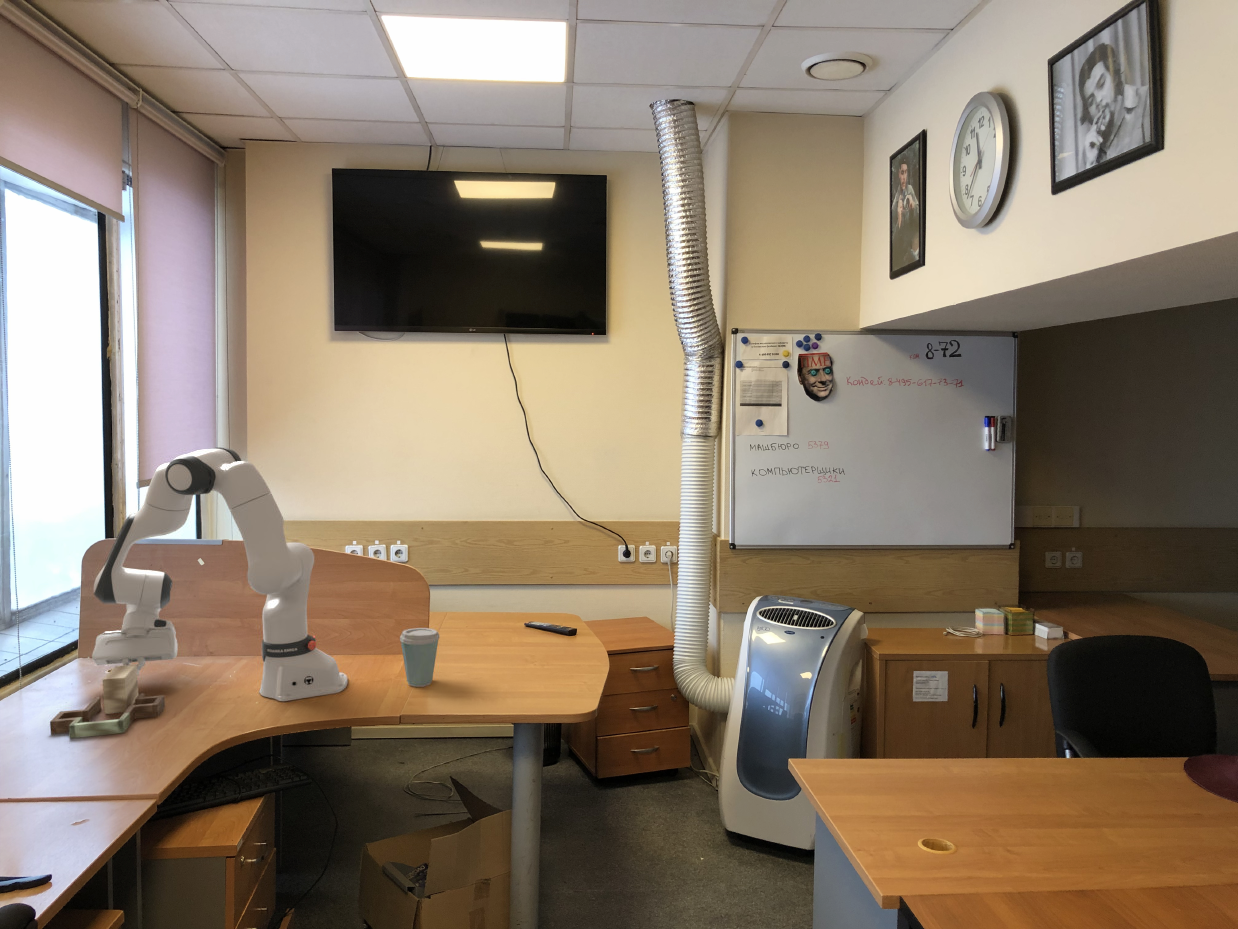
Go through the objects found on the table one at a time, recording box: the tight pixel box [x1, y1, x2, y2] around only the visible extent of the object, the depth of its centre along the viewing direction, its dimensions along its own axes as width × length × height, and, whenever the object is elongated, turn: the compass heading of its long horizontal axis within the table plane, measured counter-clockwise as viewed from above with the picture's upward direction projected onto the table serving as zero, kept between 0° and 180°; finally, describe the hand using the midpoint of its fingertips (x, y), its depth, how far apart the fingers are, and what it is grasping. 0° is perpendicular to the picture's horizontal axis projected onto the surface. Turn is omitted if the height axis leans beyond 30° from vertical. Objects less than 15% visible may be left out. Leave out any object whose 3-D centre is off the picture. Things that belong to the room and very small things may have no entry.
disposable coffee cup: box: [399, 627, 440, 688], centre depth 232 cm, size 11×11×15 cm
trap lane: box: [49, 692, 166, 739], centre depth 208 cm, size 22×18×3 cm
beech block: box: [101, 664, 139, 715], centre depth 217 cm, size 5×10×9 cm, turn 15°
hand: (131, 675), depth 225 cm, fingers closed
